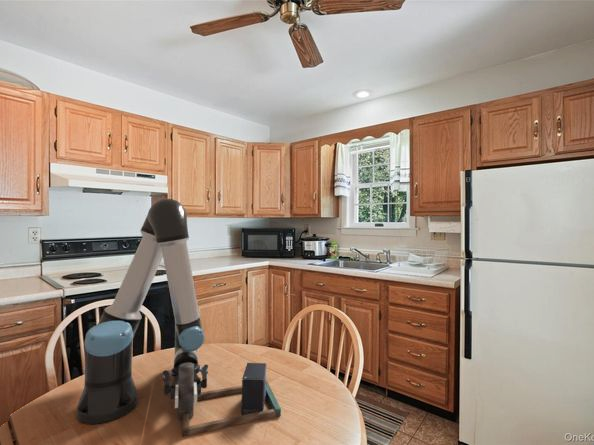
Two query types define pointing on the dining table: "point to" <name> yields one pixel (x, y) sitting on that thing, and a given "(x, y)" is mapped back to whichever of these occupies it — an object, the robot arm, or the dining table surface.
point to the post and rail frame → (188, 397)
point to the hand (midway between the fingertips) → (186, 401)
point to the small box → (253, 388)
